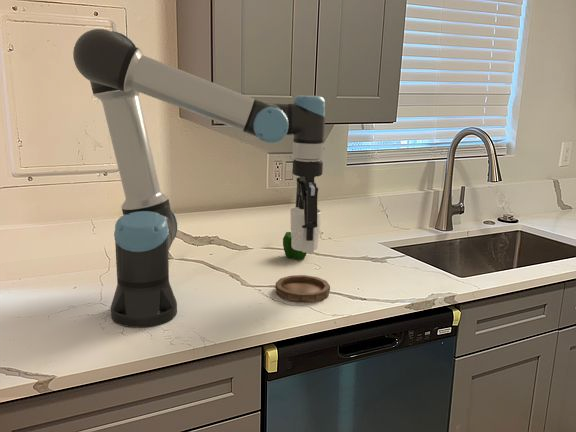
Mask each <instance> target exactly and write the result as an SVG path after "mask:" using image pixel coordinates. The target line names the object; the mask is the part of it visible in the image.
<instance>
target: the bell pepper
mask: <svg viewBox="0 0 576 432" xmlns="http://www.w3.org/2000/svg"><path fill="white" fill-rule="evenodd" d="M291 239H292V238H291V231H286V232H285V233H284V236H283V238H282V247H283V250H284V251H283V252H284V255H285V256H286V257H287V259H293V260H295V261H301V260H304V259H305V258H306V256H307V254H308V252H307V253H303V251H297V250H294V249H293V248H292V247H291Z"/></svg>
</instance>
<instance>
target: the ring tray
mask: <svg viewBox="0 0 576 432" xmlns="http://www.w3.org/2000/svg"><path fill="white" fill-rule="evenodd" d="M330 291H331V285H330V284H329V283H328V281H327V280H325V279H323V278H320V277H318V276H311V275H307V274H304V275H303V274H302V275H301V274H300V275H299V274H298V275H288V276H284V277H281V278H279V279H278V280H277V281H276V282H275V293H276V295H277V296H278V297H279V298H280V299H283V301H287V302H292V303H297V304H312V303H318V302H322V301H324V300H326V299H327V298H329V295H330Z"/></svg>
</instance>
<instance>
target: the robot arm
mask: <svg viewBox="0 0 576 432" xmlns="http://www.w3.org/2000/svg"><path fill="white" fill-rule="evenodd" d="M73 46H74V47H73V51H72V54H73V58H72V59H73V61H74V65H75V68H76V69H77V71H78V72H79V73H80V75H81V76H82V77H84V78H85V79H86V80H88V81H89V84H90V87H91V90H92V95H93V97H95V98H96V99H98V100H99V101H100V102H101V103H102V107H103V111H104V115H105V120H106V124H107V127H108V132H109V136H110V139H111V144H112V148H113V152H114V156H115V160H116V165H117V168H118V169H117V170H118V172H119V177H120V180H121V185H122V190H123V193H124V197H125V200H124V201H123V203H122V204H121V206H120V207H121V208H120V209H121V212H122V216H121V217H119V218H118V219H117V220H116V222H115V226H114V231H113V232H114V234H113V236H114V242H115V243H114V245H115V262H116V263H115V264H116V266H115V267H116V281H117V283H116V284H117V285H116V288H115V292H114V295H113V298H112V301H111V305H110V319H111V320H112V321H113V322H114V323H116V324H118V325H121V326H124V327H131V328H148V327H155V326H160V325H162V324H164V323H167V322H169V321H171V320H172V319H174V318H175V317H176V316H177V314H178V301H177V299H176V297H175V294H174V291H173V288H172V287H171V283H170V276H169V275H170V274H169V272H170V270H169V269H170V268H169V266H170V265H169V264H170V263H169V251H170V249H171V247H172V244H173V242H174V240H175V239H176V237H177V233H178V221H177V220H178V219H177V217H176V215H175V213H174V211H173V210H172V208H171V203H170V199H169V195H167V194H165V193H163V192H162V191H161V187H160V183H159V179H158V175H157V174H158V173H157V170H156V166H155V162H154V157H153V152H152V147H151V144H150V139H149V135H148V131H147V125H146V123H145V117H144V113H143V108H142V105H141V100H140V96H139V95H140V93H141V94H143V95H146V96H149V97H152V98H154V99H157V100H160V101H162V102H163V103H168V104H170V105H172V106H175V107H177V108H181V109H183V110H185V111H189V112H191V113H194V114H197V115H198V116H202V117H204V118H207V119H210V120H213V121H215V122H218V123H220V124H223V125H226V126H228V127H231V128H233V129H236V130H239V131H242V132H244V133H246V134H248V135H252V136H254V137H256V138H258V139H259V140H260V141H263V142H265V143H268V144H269V143H270V144H274V143H278V142H280V141H281V140H283V139H284V138H285V137H286V136H293V141H292V157H293V160H292V169H291V170H292V174H293V175H294V176H297V177H296V194H295V195H296V196H295V207H299V209H304V214H305V215H304V220H305V225H303V226H302V228H303V253H307V254H308V253H314V251H315V250H314V233H315V227H317V209H318V193H319V187H318V186H317V183H316V182H315V178H316V177H320V176H322V175H323V170H324V168H323V166H324V165H323V163H324V162H323V160H322V159H323V157H324V150H326V147H327V146H325V145H324V143H325V140H324V139H325V126H326V125H325V124H326V121H325V120H326V100H325V99H324V97H322V96H320V95H296V96H295V97H294V101H293V102H291V103H273V102H263V101H261V100H257V99H255V98H254V97H253V98H252V97H250V96H248V95H245V94H243V93H240V92H238V91H235V90H233V89H230V88H227V87H225V86H222V85H220V84H217V83H214V82H212V81H210V80H207V79H204V78H202V77H199V76H197V75H194V74H192V73H189V72H187V71H184V70H182V69H179V68H176V67H175V66H172V65H168V64H166V63H165V62H162V61H159V60H156V59H153V58H151V57H149V56H146V55H144V53H143V51H142V49H141V48H140V47H137V46H136V44H135V43H134V42H133V41H132V39H130V38H129V37H128V36H126V35H124V34H123V33H121V32H117V31H112V30H108V29H104V28H95V29H91V30H87V31H86V32H84V33H83V34H81V35H80V36H79V37H78V39H76V42H75V44H74V45H73Z"/></svg>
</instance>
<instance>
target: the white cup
mask: <svg viewBox="0 0 576 432" xmlns="http://www.w3.org/2000/svg"><path fill="white" fill-rule="evenodd" d="M304 215H305V214H304V209H299V207H296V206H295V207H292V208H291V209H290V232H291V238H292V239H291V247H292V248H293V249H294V250H297V251H303V228H302V226H303V225H305V220H304ZM321 220H322V210H321V209H320V208H317V227H315V233H314V251H317V250H318V248H319V239H320V238H319V237H320V231H321V222H322V221H321Z"/></svg>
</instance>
